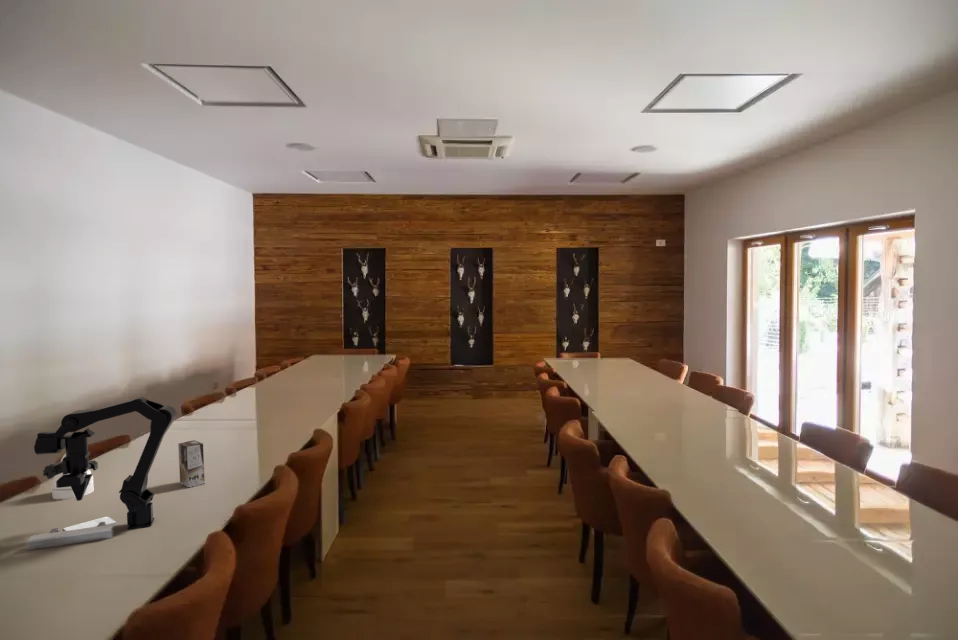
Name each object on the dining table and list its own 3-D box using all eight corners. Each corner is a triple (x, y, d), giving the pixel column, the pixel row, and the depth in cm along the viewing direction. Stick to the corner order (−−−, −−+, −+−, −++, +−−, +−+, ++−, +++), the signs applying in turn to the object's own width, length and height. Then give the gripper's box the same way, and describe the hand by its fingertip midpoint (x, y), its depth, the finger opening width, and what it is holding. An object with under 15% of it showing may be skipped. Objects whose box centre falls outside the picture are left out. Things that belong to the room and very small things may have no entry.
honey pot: (90, 485, 223) (88, 440, 222) (97, 493, 214) (95, 446, 213) (49, 493, 214) (47, 446, 213) (55, 502, 205) (52, 453, 204)
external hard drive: (62, 533, 179) (107, 520, 189) (71, 539, 174) (116, 526, 184) (62, 528, 179) (107, 515, 189) (70, 534, 174) (116, 521, 184)
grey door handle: (118, 527, 182) (117, 518, 181) (111, 538, 173) (111, 528, 173) (39, 538, 174) (38, 528, 174) (28, 550, 166) (27, 540, 166)
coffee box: (205, 483, 222) (203, 443, 222) (188, 488, 218) (186, 446, 217) (196, 478, 229) (194, 439, 228) (179, 483, 224) (177, 442, 223)
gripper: (57, 446, 184) (59, 493, 185) (34, 462, 167) (37, 514, 167) (97, 443, 188) (99, 489, 189) (78, 458, 170) (81, 509, 171)
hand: (79, 500), depth 179 cm, fingers closed
